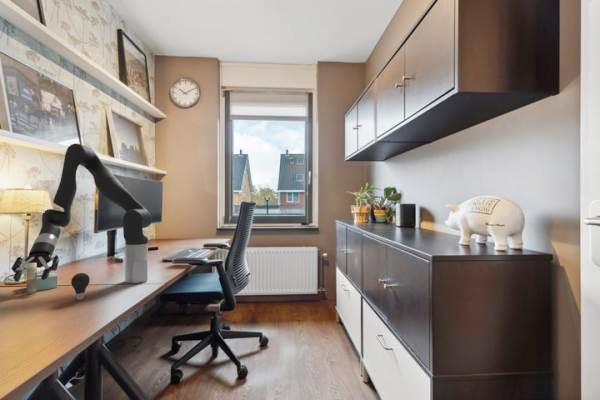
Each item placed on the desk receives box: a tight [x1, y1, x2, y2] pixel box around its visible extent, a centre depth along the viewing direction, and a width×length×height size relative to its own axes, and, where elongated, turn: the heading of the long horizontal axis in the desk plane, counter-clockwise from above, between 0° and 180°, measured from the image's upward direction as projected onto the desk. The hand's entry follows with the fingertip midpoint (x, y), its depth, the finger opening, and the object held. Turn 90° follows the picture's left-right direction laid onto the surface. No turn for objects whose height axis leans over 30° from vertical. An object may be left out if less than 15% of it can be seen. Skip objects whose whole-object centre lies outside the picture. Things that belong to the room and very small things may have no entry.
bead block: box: [36, 271, 58, 292], centre depth 128 cm, size 9×9×5 cm
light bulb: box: [70, 272, 90, 301], centre depth 113 cm, size 6×6×10 cm
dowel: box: [25, 263, 38, 296], centre depth 120 cm, size 3×3×12 cm
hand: (29, 279), depth 119 cm, fingers open, 8 cm apart
